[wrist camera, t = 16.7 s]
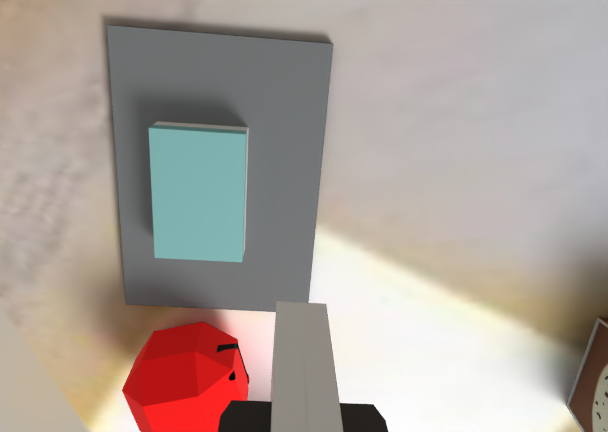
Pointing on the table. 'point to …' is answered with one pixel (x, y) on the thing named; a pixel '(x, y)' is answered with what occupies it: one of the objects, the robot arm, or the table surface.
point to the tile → (198, 190)
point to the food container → (592, 383)
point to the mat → (260, 167)
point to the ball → (185, 379)
